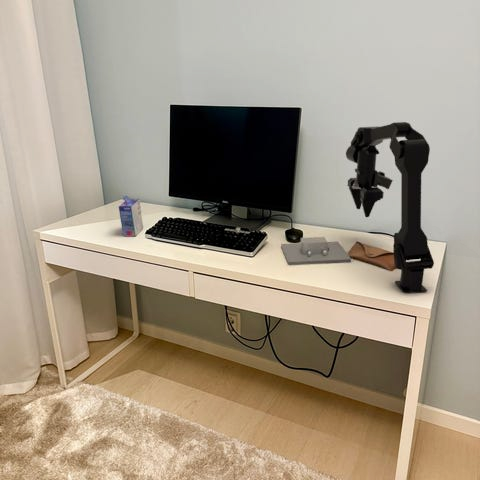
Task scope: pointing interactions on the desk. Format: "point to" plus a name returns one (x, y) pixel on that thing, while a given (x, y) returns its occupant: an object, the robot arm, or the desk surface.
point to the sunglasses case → (373, 256)
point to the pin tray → (333, 256)
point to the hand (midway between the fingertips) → (362, 212)
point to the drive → (314, 245)
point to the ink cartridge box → (131, 217)
